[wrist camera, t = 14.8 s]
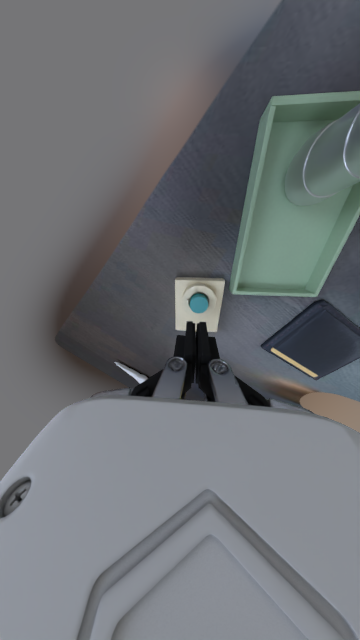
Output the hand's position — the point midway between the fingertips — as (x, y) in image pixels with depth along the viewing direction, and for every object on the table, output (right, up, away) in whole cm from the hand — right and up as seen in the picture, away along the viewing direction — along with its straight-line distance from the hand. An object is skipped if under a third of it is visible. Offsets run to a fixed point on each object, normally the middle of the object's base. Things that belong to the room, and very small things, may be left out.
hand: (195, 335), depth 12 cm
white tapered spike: (-14, -15, +30) cm, 36 cm away
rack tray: (+15, +16, +9) cm, 24 cm away
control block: (+2, +5, +17) cm, 18 cm away
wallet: (+30, -4, +20) cm, 36 cm away
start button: (+2, +5, +13) cm, 14 cm away
